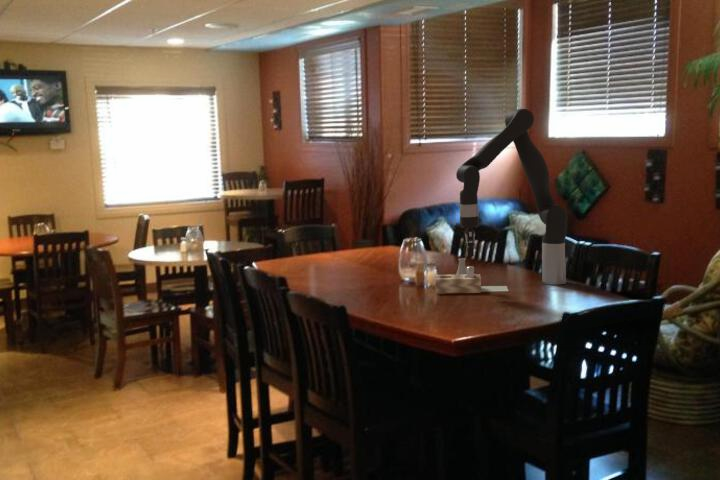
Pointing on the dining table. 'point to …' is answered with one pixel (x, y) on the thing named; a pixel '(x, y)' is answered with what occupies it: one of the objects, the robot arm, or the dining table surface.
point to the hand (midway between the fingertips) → (470, 254)
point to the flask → (462, 266)
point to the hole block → (458, 284)
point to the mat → (493, 288)
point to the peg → (470, 272)
